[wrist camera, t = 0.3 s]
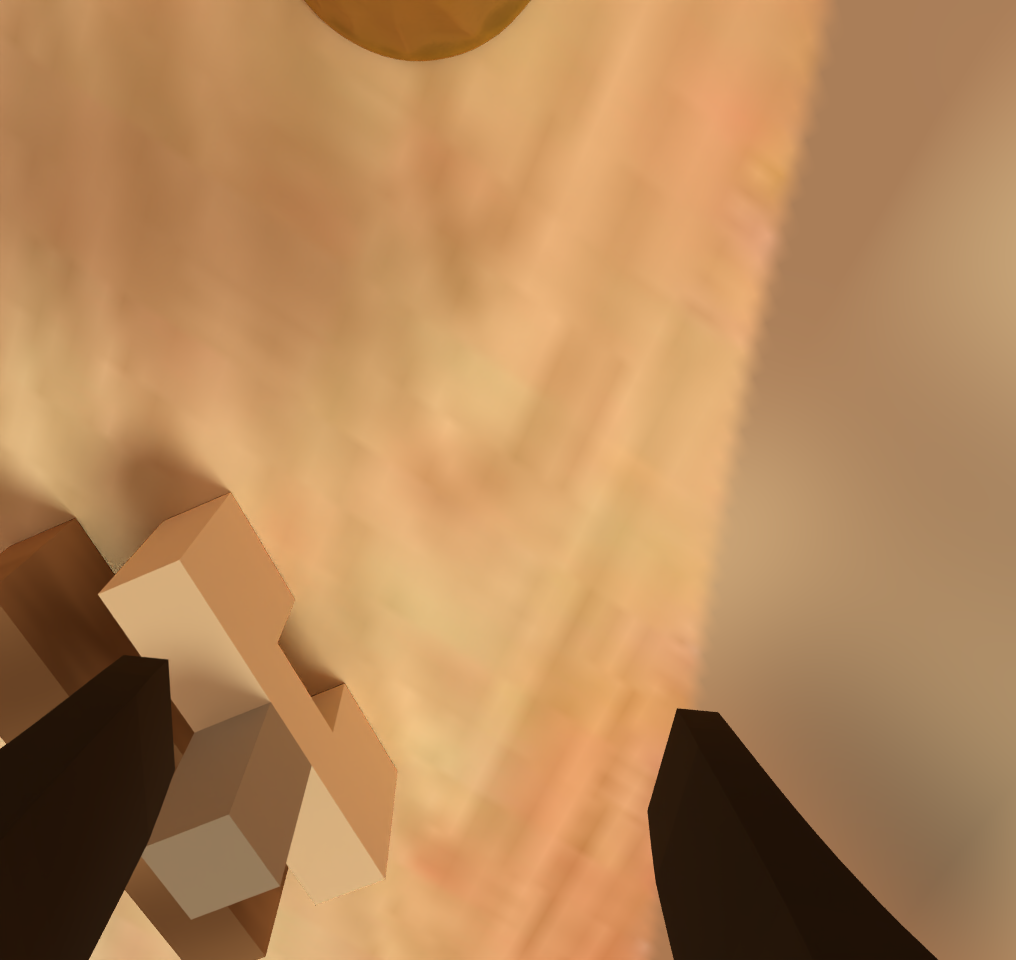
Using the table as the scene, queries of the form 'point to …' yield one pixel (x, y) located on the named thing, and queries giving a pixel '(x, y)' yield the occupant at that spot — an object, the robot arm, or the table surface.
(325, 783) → the burr puzzle piece
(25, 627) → the walnut slotted plate
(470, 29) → the vase
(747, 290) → the table surface
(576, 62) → the table surface
